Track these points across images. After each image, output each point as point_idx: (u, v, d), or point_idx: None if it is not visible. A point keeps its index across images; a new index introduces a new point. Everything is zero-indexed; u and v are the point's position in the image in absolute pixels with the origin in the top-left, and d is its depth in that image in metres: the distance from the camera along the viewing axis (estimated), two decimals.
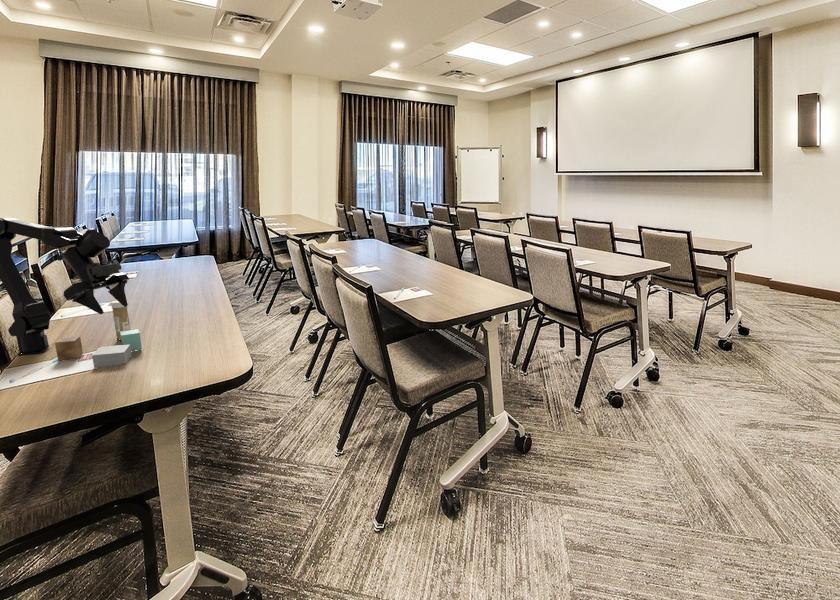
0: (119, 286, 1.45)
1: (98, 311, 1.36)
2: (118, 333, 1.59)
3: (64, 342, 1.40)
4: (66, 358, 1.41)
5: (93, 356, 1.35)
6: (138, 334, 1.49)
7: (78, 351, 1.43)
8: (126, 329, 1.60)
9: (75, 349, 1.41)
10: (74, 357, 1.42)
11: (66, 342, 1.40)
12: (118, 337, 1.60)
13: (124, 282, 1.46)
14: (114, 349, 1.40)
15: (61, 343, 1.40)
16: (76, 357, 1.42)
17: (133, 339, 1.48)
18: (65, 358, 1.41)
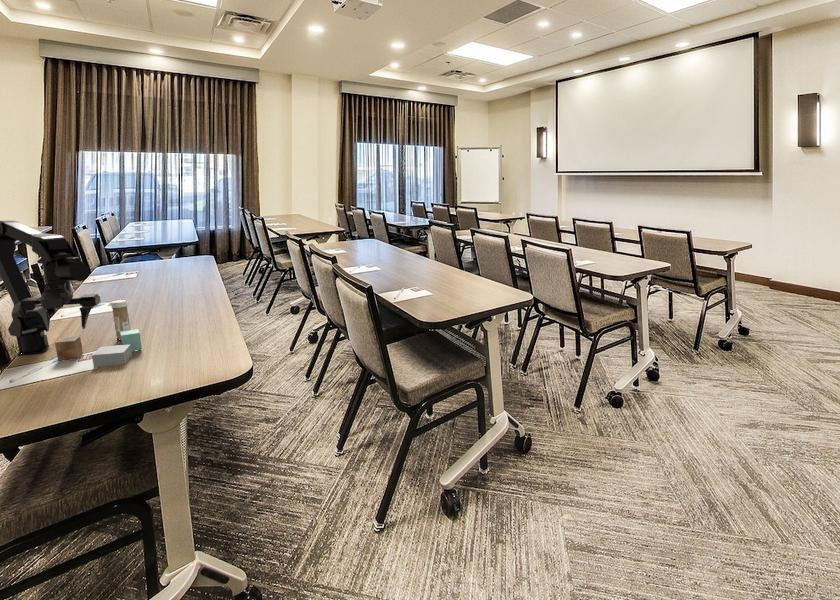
0: None
1: None
2: (118, 333, 1.59)
3: (64, 342, 1.40)
4: (66, 358, 1.41)
5: (93, 356, 1.35)
6: (138, 334, 1.49)
7: (78, 351, 1.43)
8: (126, 329, 1.60)
9: (75, 349, 1.41)
10: (74, 357, 1.42)
11: (66, 342, 1.40)
12: (118, 337, 1.60)
13: (85, 309, 1.40)
14: (114, 349, 1.40)
15: (61, 343, 1.40)
16: (76, 357, 1.42)
17: (133, 339, 1.48)
18: (65, 358, 1.41)
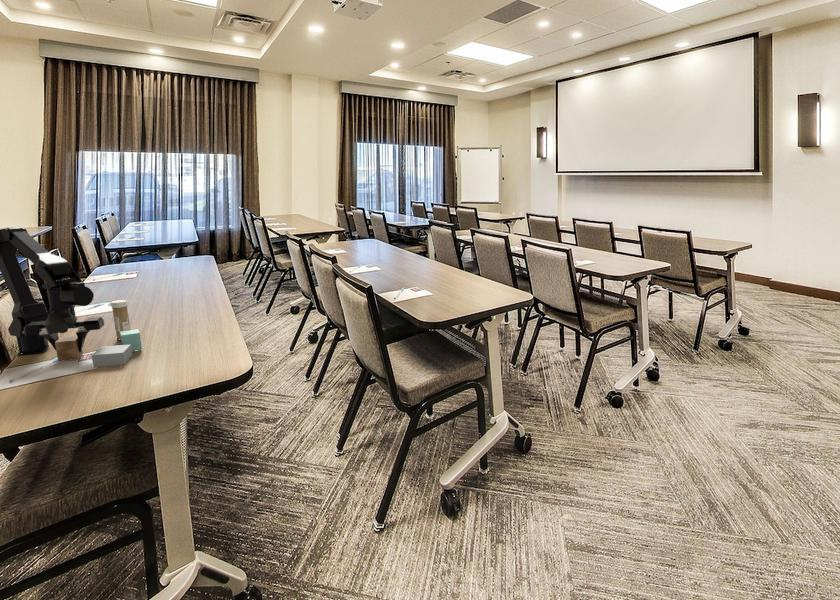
0: None
1: None
2: (118, 333, 1.59)
3: (64, 342, 1.40)
4: (66, 358, 1.41)
5: (92, 356, 1.35)
6: (138, 334, 1.49)
7: (78, 351, 1.43)
8: (126, 329, 1.60)
9: (75, 349, 1.41)
10: (74, 357, 1.42)
11: (66, 342, 1.40)
12: (118, 337, 1.60)
13: (81, 333, 1.41)
14: (114, 349, 1.40)
15: (61, 343, 1.40)
16: (76, 357, 1.42)
17: (133, 339, 1.48)
18: (65, 358, 1.41)
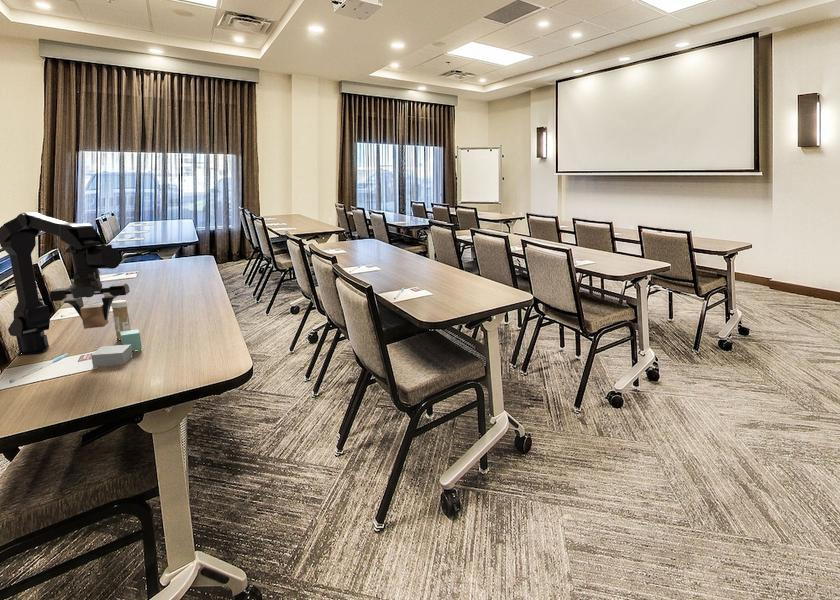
0: None
1: None
2: (118, 333, 1.59)
3: (89, 308, 1.35)
4: (92, 325, 1.36)
5: (92, 356, 1.35)
6: (138, 334, 1.49)
7: (104, 318, 1.38)
8: (126, 329, 1.60)
9: (101, 316, 1.37)
10: (100, 324, 1.37)
11: (91, 308, 1.35)
12: (118, 337, 1.60)
13: (107, 299, 1.36)
14: (114, 349, 1.40)
15: (86, 309, 1.35)
16: (102, 324, 1.37)
17: (133, 339, 1.48)
18: (91, 325, 1.36)
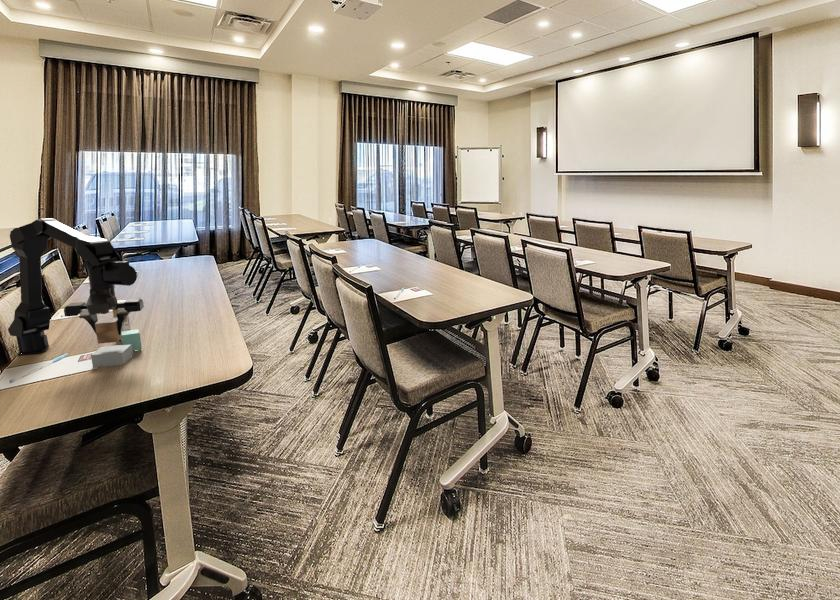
0: None
1: None
2: None
3: (104, 323, 1.36)
4: (106, 340, 1.37)
5: (92, 356, 1.35)
6: (138, 334, 1.49)
7: (117, 333, 1.38)
8: (126, 329, 1.60)
9: (115, 331, 1.37)
10: (114, 339, 1.37)
11: (106, 323, 1.36)
12: None
13: (122, 314, 1.36)
14: (114, 349, 1.40)
15: (101, 324, 1.35)
16: (116, 339, 1.37)
17: (133, 339, 1.48)
18: (105, 340, 1.37)
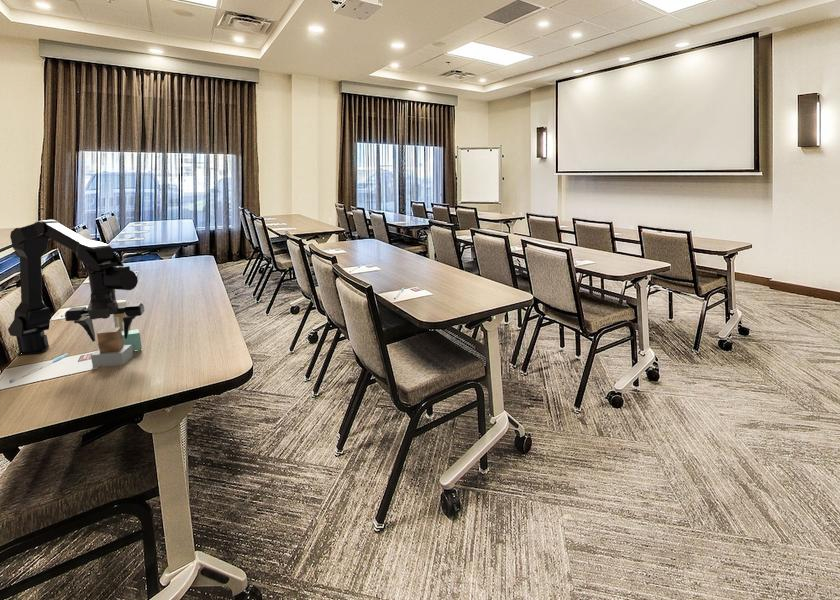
0: None
1: None
2: None
3: (106, 333, 1.36)
4: (108, 349, 1.37)
5: (92, 356, 1.35)
6: (138, 334, 1.49)
7: (119, 342, 1.39)
8: None
9: (117, 340, 1.38)
10: (116, 348, 1.38)
11: (108, 333, 1.36)
12: None
13: (128, 318, 1.37)
14: None
15: (103, 334, 1.36)
16: (118, 348, 1.38)
17: (133, 339, 1.48)
18: (107, 349, 1.37)
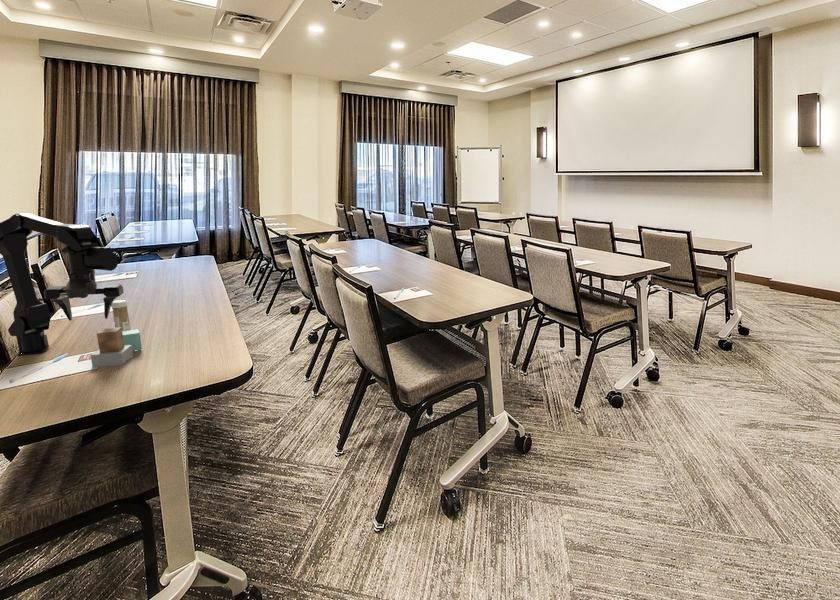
0: None
1: None
2: None
3: (106, 333, 1.36)
4: (108, 349, 1.37)
5: (91, 356, 1.35)
6: (138, 334, 1.49)
7: (119, 342, 1.39)
8: (126, 329, 1.60)
9: (117, 340, 1.38)
10: (115, 348, 1.38)
11: (107, 333, 1.36)
12: None
13: (108, 299, 1.40)
14: None
15: (103, 334, 1.36)
16: (117, 348, 1.38)
17: (133, 339, 1.48)
18: (107, 349, 1.37)
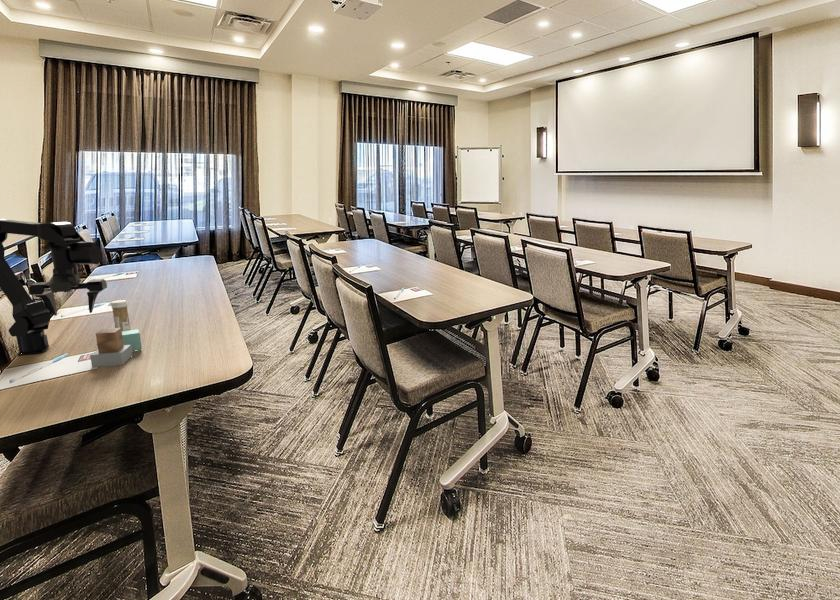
0: None
1: None
2: None
3: (105, 333, 1.36)
4: (106, 350, 1.37)
5: (91, 356, 1.35)
6: (138, 334, 1.49)
7: (118, 343, 1.39)
8: (126, 329, 1.60)
9: (116, 341, 1.37)
10: (114, 349, 1.37)
11: (107, 333, 1.36)
12: None
13: (92, 293, 1.44)
14: None
15: (102, 334, 1.36)
16: (116, 349, 1.38)
17: (133, 339, 1.48)
18: (105, 350, 1.37)
